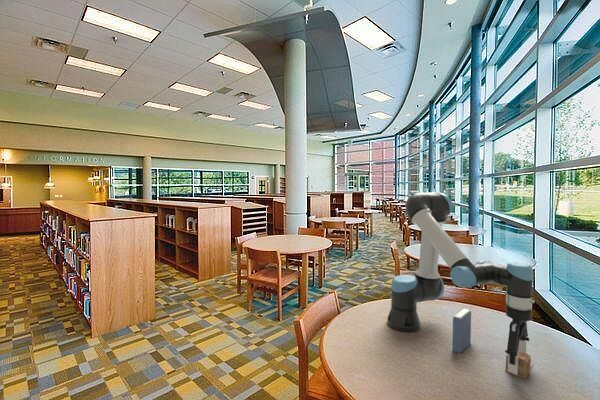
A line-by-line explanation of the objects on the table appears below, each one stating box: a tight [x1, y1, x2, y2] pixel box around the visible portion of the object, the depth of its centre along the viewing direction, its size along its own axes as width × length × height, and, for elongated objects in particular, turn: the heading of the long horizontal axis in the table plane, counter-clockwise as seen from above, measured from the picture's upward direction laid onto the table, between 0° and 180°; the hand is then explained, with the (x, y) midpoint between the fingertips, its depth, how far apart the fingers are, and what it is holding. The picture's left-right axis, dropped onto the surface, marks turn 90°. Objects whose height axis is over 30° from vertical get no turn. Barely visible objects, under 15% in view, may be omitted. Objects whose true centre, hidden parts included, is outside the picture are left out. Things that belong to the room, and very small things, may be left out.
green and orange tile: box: [504, 368, 527, 380], centre depth 106 cm, size 6×6×1 cm
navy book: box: [451, 308, 472, 355], centre depth 122 cm, size 3×12×14 cm, turn 133°
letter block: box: [505, 351, 532, 379], centre depth 105 cm, size 6×6×6 cm
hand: (517, 364), depth 106 cm, fingers open, 13 cm apart
